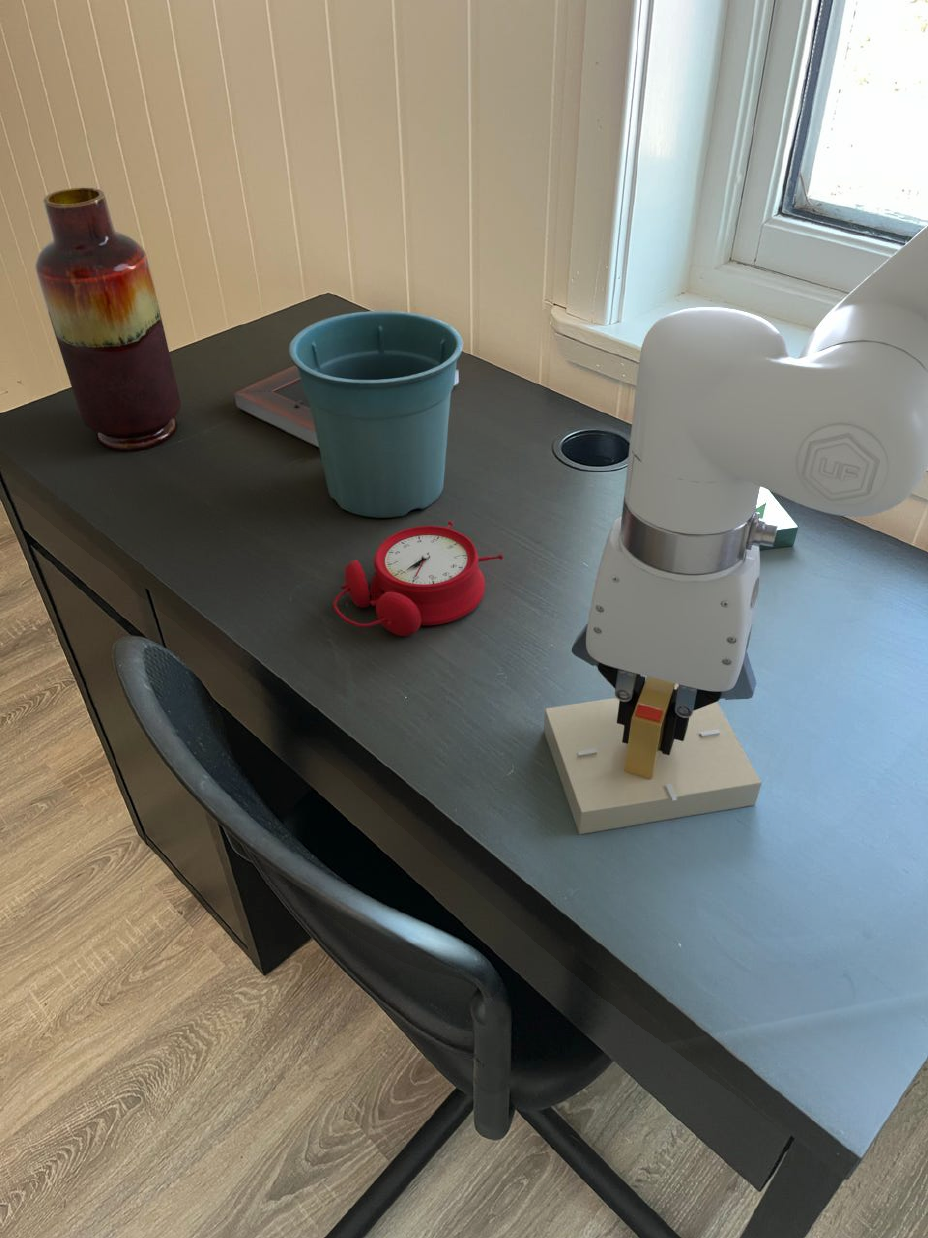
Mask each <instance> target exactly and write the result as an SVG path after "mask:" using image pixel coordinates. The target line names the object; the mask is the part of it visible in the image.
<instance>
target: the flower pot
mask: <svg viewBox="0 0 928 1238" xmlns="http://www.w3.org/2000/svg"><path fill="white" fill-rule="evenodd" d="M463 348H464V340H463V337H462V336H461V334H460V333H459V332H458V330H457V329H456V328H454V326H452V325H450V324H448V323H447V322H445V321H443V320H440V319H437V318H434V317H432V316H428V315H423V314H419V313H414V312H406V311H397V310H395V311H393V310H369V311H359V312H351V313H344V314H339V315H336V316H331V317H328V318H324V319H321V320H319V321H317V322H314V323H312V324H310V325H308V326H307V327H305V328H303V329H302V330H301V331H299V332H298V333H297V334H296V335H295V336H294V338H292V340H291V341H290V343H289V346H288V352H289V356H290V359H291V361H292V363H293V364H294V366H295V365H296V366H297V367H298V371H299V374H300V379H301V383H302V387H303V391H304V393H305V395H306V397H307V398H308V399H309V403H310V408H311V412H312V417H313V421H314V426H315V430H316V435H317V440H318V444H319V447H318V449H319V452H320V458H321V462H322V466H323V467H322V468H323V473H324V475H325V476H324V477H325V482H326V485H327V490H328V494H329V496H330V498H331V499H334V500H335V502H336V503H337V504H338V506H339V507H340V508H341V509H342V510H344V511H346V512H349V513H352V514H354V515H357V516H362V517H367V518H377V519H383V518H384V519H386V518H387V519H388V518H389V519H390V518H398V517H403V516H406V515H407V514H408V513H409V512H411V511H412V510H416V509H419V510H424V509H425V508H427V507H430V506H431V505H432V504H433V503H435V502H436V500H438V498H439V497H440V495H441V493H442V492H443V489H444V481H445V472H446V471H445V470H446V457H447V456H446V455H447V447H448V446H447V444H448V431H449V418H450V407H451V397H452V396H451V394H452V391H453V389H454V387H455V386H454V383H455V373H456V369H457V361H458V359H459V358H460V356H461V354H462V352H463Z"/></svg>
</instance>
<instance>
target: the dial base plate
mask: <svg viewBox="0 0 928 1238" xmlns="http://www.w3.org/2000/svg"><path fill="white" fill-rule="evenodd" d="M619 701H620V700H618V699H617V698H616V697H612V698H605V699H599V700H592V701H586V702H578V703H572V704H566V705H565V704H564V705H560V706H559V705H557V706H552V707H545V708H544V716H543V717H544V718H543V732H544V736H545V738H546V741H547V744H548V748H549V750H550V753H551V756H552V759H553V762H554V765H555V768H556V771H557V774H558V777H559V779H560V782H561V786H562V788H563V791H564V794H565V797H566V800H567V803H568V806H569V808H570V811H571V814H572V816H573V821H574V824H575V826H576V829H577V832H578V835H583V834H590V833H595V832H601V831H607V830H614V829H620V828H626V827H632V826H637V825H643V824H650V823H655V822H656V823H657V822H663V821H668V820H673V819H680V818H685V817H692V816H698V815H703V814H709V813H710V814H711V813H714V812H715V813H716V812H721V811H727V810H733V809H739V808H745V807H751V806H755V805H756V804H757V800H758V797H759V793H760V790H761V786H762V780H761V778H760V777H759V775H758V773H757V771H756V770H755V768H754V766H753V764H752V763H751V761H750V759H749V757H748V755H747V753H746V751H745V750H744V748H743V746H742V744H741V743H740V741H739V739H738V737H737V735H736V734H735V731H734V730H733V728H732V726H731V724H730V722H729V721H728V719H727V717H726V715H725V714H724V711H723V709H722V708H721V706H720V704H719V701H717V702H715V703H713V704H710V705H707V706H705V707H702V708H700V709H697V710H694V711H693V714H692V716H691V717H689V722H688V727H687V731H686V735H685V738H684V741H680V740H676V739H674V742H673V745H672V748H671V752H670V755H666V754H662V751H661V753H660V756H659V759H658V762H657V765H656V768H655V771H654V774H653V777H652V779H649V778H646V777H642V776H639V775H635V774H632V773H629V772H625V771H624V769H625V762H626V755H627V748H628V744H626V743H622V739H623V732H624V725H621V724H618V723H617V716H618V708H619Z"/></svg>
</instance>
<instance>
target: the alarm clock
mask: <svg viewBox="0 0 928 1238" xmlns="http://www.w3.org/2000/svg"><path fill="white" fill-rule="evenodd" d="M453 525H454V522H453V521H451V520H449V521H448V522H447V526H446V527H445V526H444V527H443V526H438V525H420V526H413V527H409V528H406V529H403V530H399V531H398V532H395V533H393V534H391V535H390V536H388V537H387V538H386V539H384V540H383V541H382V542H381V543H380V545H379V546H378V548H377V550H376V552H375V555H374V559H373V563H374V564H373V565H374V570H375V573H374V575H373V577H372V579H371V581H370V589H369V584H368V580H367V578H366V575H365V571H364V569H363V567H362V564H361V562H360V561H359V560H358V559H355V560H352V561H350V562H348V564H347V565H345V570H344V579H345V584H343V585H340V589H341V590H343V591H342V592H340V593H339V595H337V596H336V597H335V598H334V601H333V609H334V611H335V612H336V614H337V615H338V616H339V617H341V619H342V620H344V621H346V622H347V623H348V624H351V625H353V626H356V627H359V628H360V627H361V628H362V627H363V628H365V627H372V626H375V625H378V624H380V625H381V626H382V627H383V628H384V629H385V630H387V631H388V632H390V633H391V634H393V635H395V636H400V637H407V636H412V635H413V634H415V633H416V632H417V631H418V630H419V629H420V627H421V626H436V625H437V626H438V625H443V624H446V623H447V624H448V623H450V622H454V621H456V620H458V619H461V618H463V617H465V616H467V615H468V614H470V613H471V612H472V611H474V610H475V609H476V608H477V607H478V606H479V604H481V601H482V600H483V598H484V595H485V591H486V580H485V577H484V574H483V572H482V570H481V569H480V568H479V562H485V561H492V560H497V559H499V560H504V555H503V554H499V555H497V556H485V557H484V556H483V557H479V554H478V551H477V548H476V546H475V544H474V543H473V542H472V540H471V539H470V538H469V537H467V536H466V535H464V534H463V533H461V532H459V531H458V530H455V529H452V528H451V527H452V526H453ZM347 593H348V595H349V597H350V599H351V601H352V603H353V604H354V605H355V606H357V607H359V608H369V607H370V606H371V605H372V606H375V614H376V618H377V620H374V621H372V622H367V623H359V622H356V621H353V620H351V619H350V618H348V617H346V616H345V615H344V614H342V612H341V611H340V610H339V608H338V601H339V600H340V599H341V598H342V597H343V596H344V595H345V594H347ZM370 596H371V597H370Z"/></svg>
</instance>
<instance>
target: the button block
mask: <svg viewBox="0 0 928 1238" xmlns="http://www.w3.org/2000/svg"><path fill="white" fill-rule="evenodd" d="M757 501H758V502H757V507H756V511H755V513H756V512H757V513H760V516H759V519H764V520H766V522H767V523H772V524H777V525H778V529H777V533H776V537H775V541H774V545H773V547H770V546H765V545H760V546H759V551H765V550H772V549H781V548H787V547H793V546H794V545H795V541H796V539H797V538H796V537H797V534H798V530H799V526H798V525H797V524H796V523H795V521H794V520H793V519H792V517H791V516H790V515H789V513H787V511H786V510H785V509H784V507H783V506H782V505H781V504H780V502H779V501H778V500H777V499H776V498H775V496H774V495H773V494H772V492H771V491H769V490H767V489H765V488H762V487H760V491H759V496H758V500H757Z"/></svg>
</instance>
